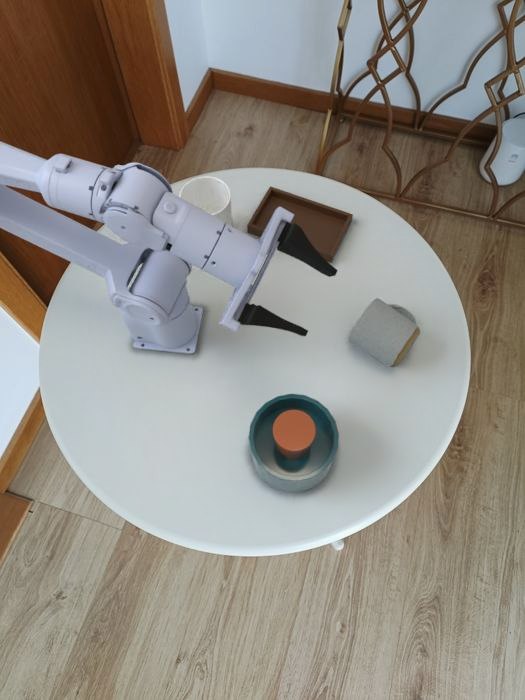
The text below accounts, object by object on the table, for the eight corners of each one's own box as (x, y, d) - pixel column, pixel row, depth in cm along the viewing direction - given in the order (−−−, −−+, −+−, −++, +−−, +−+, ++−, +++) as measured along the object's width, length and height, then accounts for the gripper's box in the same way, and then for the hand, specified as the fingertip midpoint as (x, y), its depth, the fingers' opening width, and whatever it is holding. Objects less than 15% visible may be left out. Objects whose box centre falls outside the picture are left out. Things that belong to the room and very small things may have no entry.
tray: (247, 232, 90) (246, 225, 88) (270, 194, 94) (270, 186, 92) (331, 263, 87) (332, 256, 85) (351, 222, 91) (353, 214, 89)
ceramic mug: (391, 378, 78) (403, 356, 71) (343, 349, 80) (350, 324, 73) (426, 327, 82) (440, 300, 75) (380, 300, 84) (389, 272, 77)
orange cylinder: (271, 460, 69) (270, 448, 64) (275, 422, 71) (275, 407, 66) (311, 465, 69) (313, 453, 63) (314, 426, 71) (317, 411, 66)
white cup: (240, 222, 91) (236, 180, 82) (228, 259, 88) (223, 220, 79) (196, 214, 92) (187, 172, 83) (182, 251, 89) (172, 211, 80)
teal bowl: (246, 487, 72) (243, 474, 65) (257, 408, 77) (255, 389, 70) (329, 497, 71) (335, 485, 64) (335, 417, 76) (341, 398, 69)
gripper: (186, 304, 54) (301, 362, 57) (250, 178, 55) (360, 242, 58) (182, 306, 61) (284, 358, 64) (238, 194, 62) (337, 250, 65)
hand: (319, 303), depth 61 cm, fingers open, 7 cm apart
